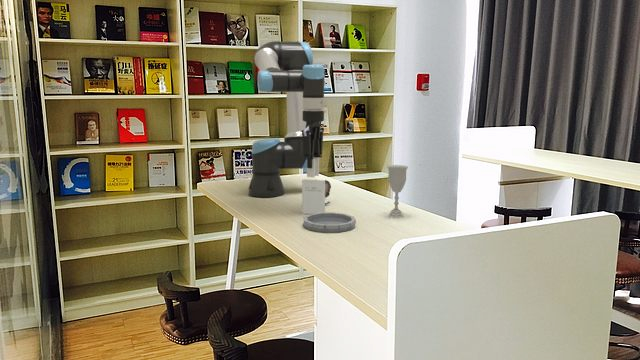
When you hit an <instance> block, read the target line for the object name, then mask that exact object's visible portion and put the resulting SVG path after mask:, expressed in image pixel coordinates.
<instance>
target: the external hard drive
mask: <svg viewBox="0 0 640 360" xmlns="http://www.w3.org/2000/svg"><path fill="white" fill-rule="evenodd" d="M325 180H326V179H309V178H308V179H304V178H303V179H301V214H303V215H309V214H315V213H326V204H325V198H326V197H325Z"/></svg>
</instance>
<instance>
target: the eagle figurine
mask: <svg viewBox="0 0 640 360" xmlns="http://www.w3.org/2000/svg"><path fill="white" fill-rule="evenodd" d="M324 180H325V205H327V204H328V203H330V201H329V200H328V199H327V198H328V197H329V196H330V191H331V188H332V185H331V183H330V181H328V180H327V179H324Z"/></svg>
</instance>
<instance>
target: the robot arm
mask: <svg viewBox="0 0 640 360" xmlns="http://www.w3.org/2000/svg"><path fill="white" fill-rule="evenodd" d="M253 58H254V59H253V60H254V64H255V66H256V67H257V69H259V71H258V72H257V89H258V91H259V92H264V93H265V92H266V93H275V92H276V93H286V116H287V117H286V119H287V120H286V121H287V122H286V124H287V126H286V127H287V134H286V135H284V138H283V139H284V141H281V140H280V138H278V137H275V138H274V137H273V138H272V137H269V138H264V139H259V140H256V141H254V142H253V143H252V145H251V155H252V156H251V157H252V162H251V163H252V172H251V173H252V176H251V180H250V184H249V186H248V195H250V196H251V197H261V198H270V197H280V196H282V195H284V194H285V187H284V184H283V180H282V177H281V170H290V169H291V170H294V169H295V170H296V169H298V170H299V169H300V170H302V169H306V177H307V178H312V179H313V178H315V176H316V177H319V176H320V158H322V157H323V143H324V142H323V141H324V132H325V128H324V127H321V122H324V121H325V111H324V109H325V102H326V101H325V78H326V77H325V76H326V74H325V66H323V64H314V56H313V51H312V48H311V45H310V43H308V42H307V41H281V40H279V41H277V40H275V41H273V40H272V41H270V42H269V41H268V42H265V43H264V44H262V45H260V47H258V49H257V50H256V51H255V53H254V56H253Z"/></svg>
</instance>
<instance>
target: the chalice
mask: <svg viewBox="0 0 640 360" xmlns="http://www.w3.org/2000/svg"><path fill="white" fill-rule="evenodd" d="M408 168H409V166H408V165H405V164H404V165H402V164H391V165H390V164H389V165H387V170H388V179H387V180H388V183H389V186H390V188H391V190H392V192H393V193H394V197H393V198H394V202H393V203H394V208H393V209H392V210H390V213H389V215H388V217H389V218H393V219H400V218H403V217H404V215H403V212H402V211H401V209H399V207H398V206H399V199H400V197H399V194H400V193H401V192H402V190H403V189H404V187H405V184H406V182H407V170H408Z"/></svg>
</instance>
